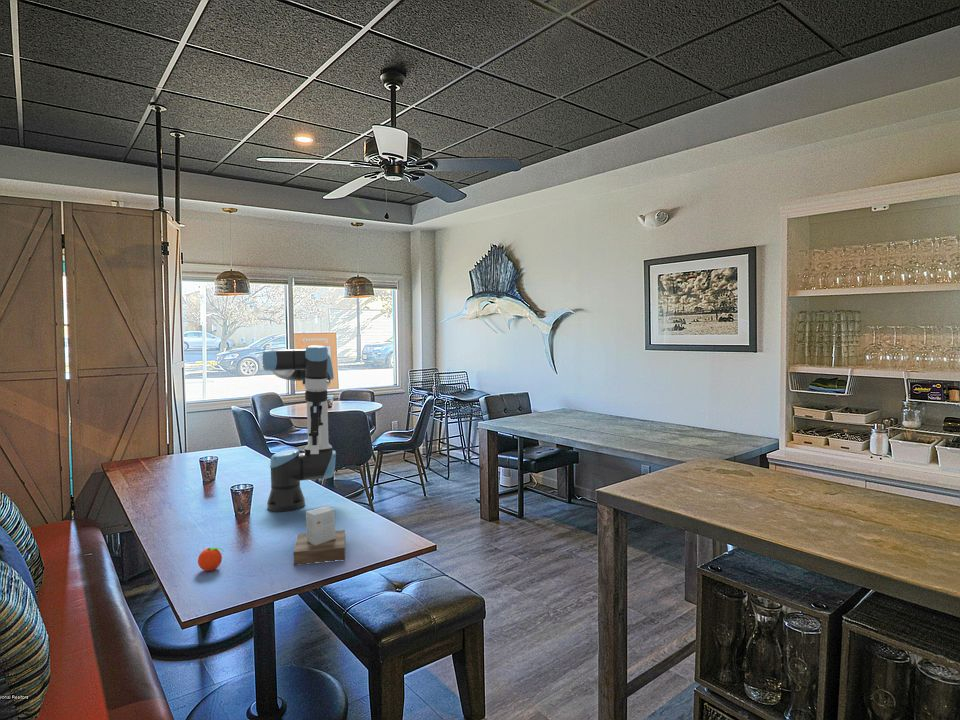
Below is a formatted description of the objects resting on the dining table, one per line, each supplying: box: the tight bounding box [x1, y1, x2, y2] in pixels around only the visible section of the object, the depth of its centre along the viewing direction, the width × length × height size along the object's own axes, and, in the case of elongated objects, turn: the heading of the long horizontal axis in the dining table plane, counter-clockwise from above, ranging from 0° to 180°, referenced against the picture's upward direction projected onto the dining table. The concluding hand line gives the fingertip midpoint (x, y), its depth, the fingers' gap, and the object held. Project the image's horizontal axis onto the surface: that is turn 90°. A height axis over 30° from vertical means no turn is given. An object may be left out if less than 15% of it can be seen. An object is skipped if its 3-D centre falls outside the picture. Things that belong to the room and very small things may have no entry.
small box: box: [305, 505, 336, 546], centre depth 193 cm, size 8×6×10 cm
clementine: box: [197, 547, 223, 572], centre depth 182 cm, size 8×7×7 cm
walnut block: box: [293, 529, 346, 566], centre depth 194 cm, size 16×16×5 cm
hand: (315, 448), depth 204 cm, fingers open, 13 cm apart
